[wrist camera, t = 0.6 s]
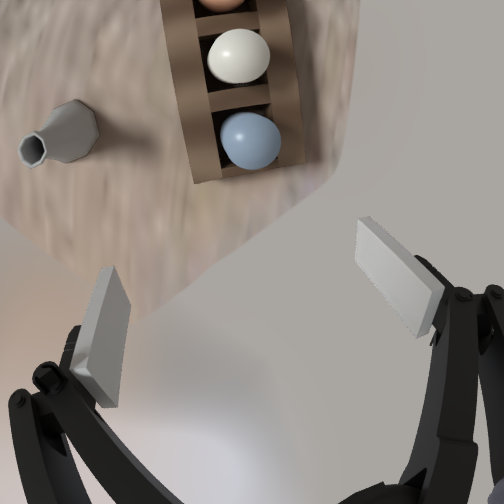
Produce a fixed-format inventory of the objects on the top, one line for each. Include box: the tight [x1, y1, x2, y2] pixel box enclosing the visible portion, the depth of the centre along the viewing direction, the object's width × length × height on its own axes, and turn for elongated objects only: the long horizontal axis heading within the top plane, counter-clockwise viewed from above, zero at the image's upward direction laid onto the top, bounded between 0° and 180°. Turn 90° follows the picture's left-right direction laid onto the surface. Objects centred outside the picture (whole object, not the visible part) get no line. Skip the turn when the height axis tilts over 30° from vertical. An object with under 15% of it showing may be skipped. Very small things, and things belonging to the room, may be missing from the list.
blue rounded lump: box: [220, 111, 281, 170], centre depth 27 cm, size 5×5×5 cm
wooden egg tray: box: [160, 0, 306, 184], centre depth 26 cm, size 24×12×4 cm, turn 8°
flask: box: [18, 99, 99, 169], centre depth 24 cm, size 7×7×10 cm
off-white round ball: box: [207, 29, 270, 84], centre depth 23 cm, size 5×5×5 cm
